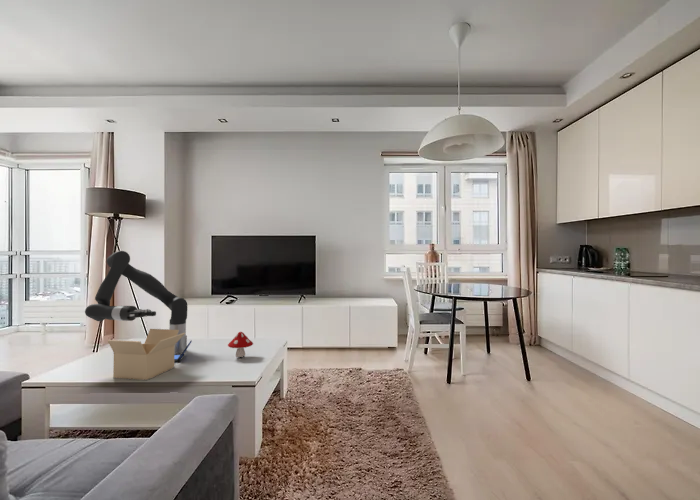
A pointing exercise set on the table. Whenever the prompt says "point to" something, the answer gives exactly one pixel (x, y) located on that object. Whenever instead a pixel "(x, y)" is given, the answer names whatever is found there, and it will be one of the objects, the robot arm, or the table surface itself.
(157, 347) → the near flap
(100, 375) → the table surface
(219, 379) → the table surface
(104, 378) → the table surface
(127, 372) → the carton
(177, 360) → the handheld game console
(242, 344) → the decorative mushroom
